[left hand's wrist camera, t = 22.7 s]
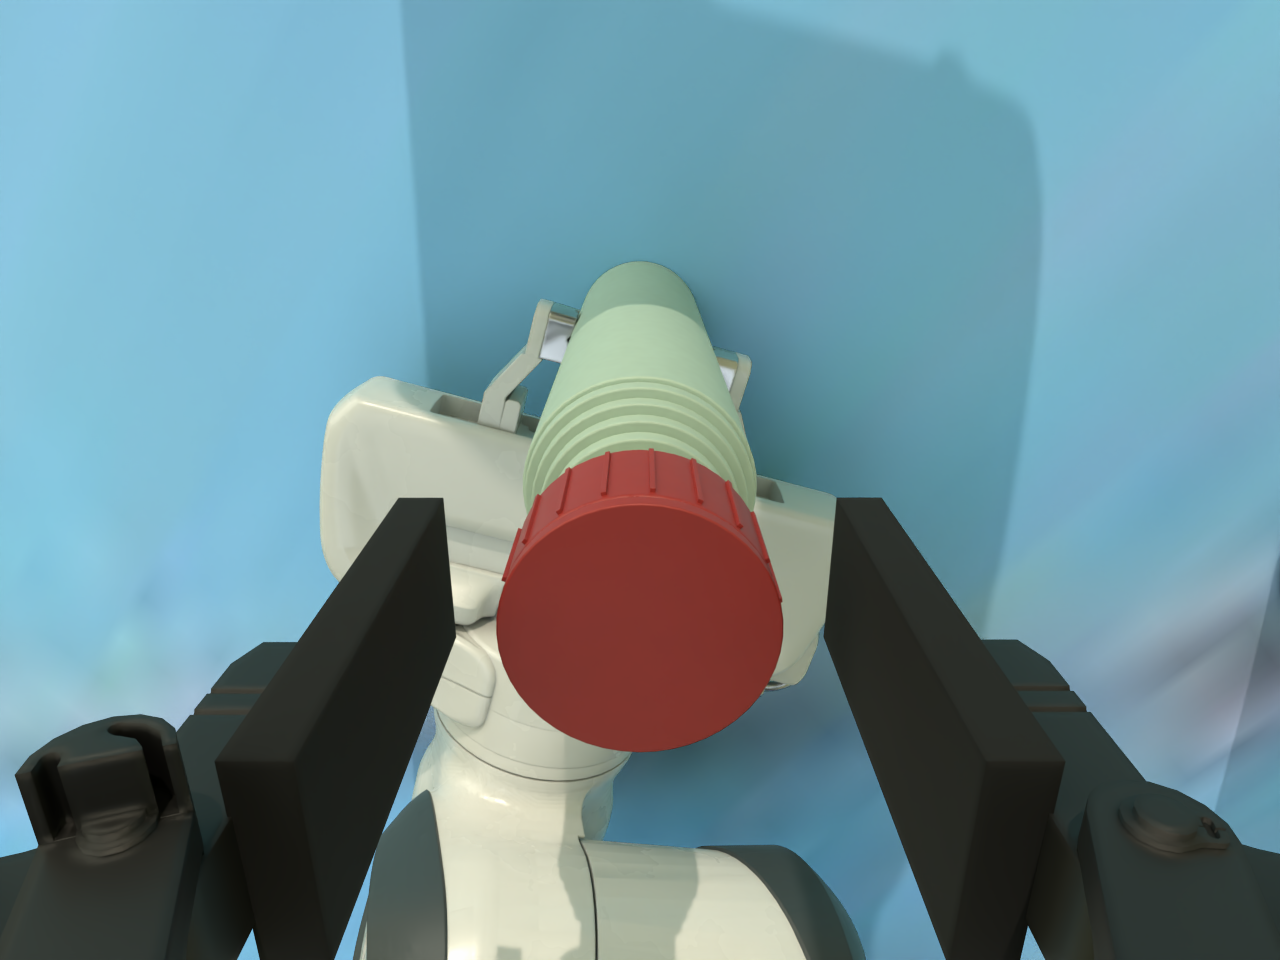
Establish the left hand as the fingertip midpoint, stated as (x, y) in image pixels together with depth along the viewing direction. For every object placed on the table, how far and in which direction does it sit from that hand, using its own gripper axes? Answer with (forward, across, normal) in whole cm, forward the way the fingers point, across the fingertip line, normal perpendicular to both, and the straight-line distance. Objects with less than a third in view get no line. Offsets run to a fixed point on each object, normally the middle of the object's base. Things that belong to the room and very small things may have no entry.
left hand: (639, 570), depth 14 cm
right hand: (+17, 0, -1) cm, 17 cm away
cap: (-2, 0, 0) cm, 2 cm away
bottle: (+23, 0, 0) cm, 23 cm away
